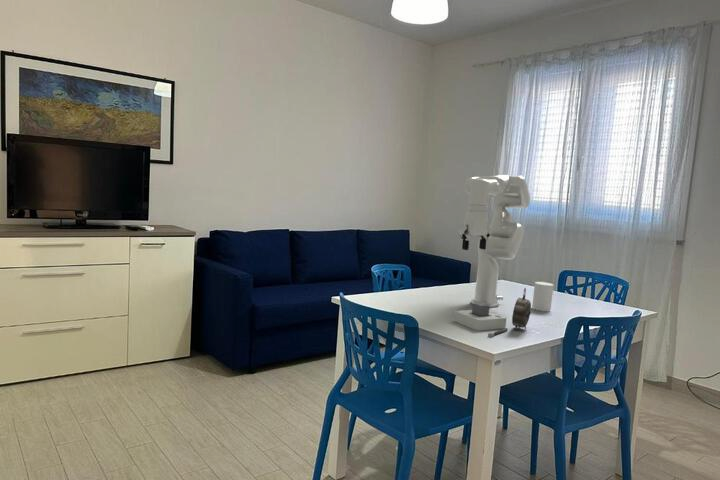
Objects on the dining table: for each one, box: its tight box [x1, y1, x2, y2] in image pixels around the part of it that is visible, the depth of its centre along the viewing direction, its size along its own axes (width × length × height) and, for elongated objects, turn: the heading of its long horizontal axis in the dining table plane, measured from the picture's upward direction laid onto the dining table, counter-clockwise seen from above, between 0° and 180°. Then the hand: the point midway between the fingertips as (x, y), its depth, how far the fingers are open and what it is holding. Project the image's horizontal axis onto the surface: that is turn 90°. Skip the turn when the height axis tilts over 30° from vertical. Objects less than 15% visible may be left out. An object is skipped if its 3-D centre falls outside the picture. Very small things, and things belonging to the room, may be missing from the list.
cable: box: [487, 327, 509, 338], centre depth 192 cm, size 14×1×1 cm, turn 140°
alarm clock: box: [511, 287, 532, 332], centre depth 201 cm, size 11×5×16 cm, turn 150°
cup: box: [531, 281, 555, 312], centre depth 241 cm, size 8×8×12 cm
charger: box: [471, 303, 490, 317], centre depth 203 cm, size 4×4×8 cm
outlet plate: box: [453, 309, 507, 331], centre depth 204 cm, size 14×14×4 cm
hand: (473, 249), depth 220 cm, fingers open, 9 cm apart
